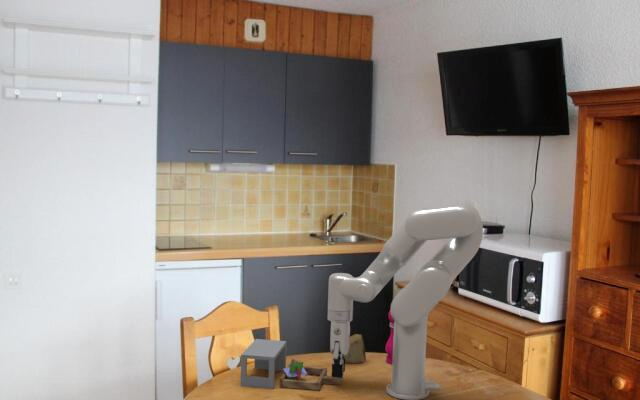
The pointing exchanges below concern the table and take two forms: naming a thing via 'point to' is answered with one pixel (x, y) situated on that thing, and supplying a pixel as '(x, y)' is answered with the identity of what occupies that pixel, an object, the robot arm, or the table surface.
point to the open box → (263, 362)
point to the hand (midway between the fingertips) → (338, 373)
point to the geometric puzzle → (295, 370)
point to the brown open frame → (309, 384)
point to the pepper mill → (390, 341)
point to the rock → (356, 350)
